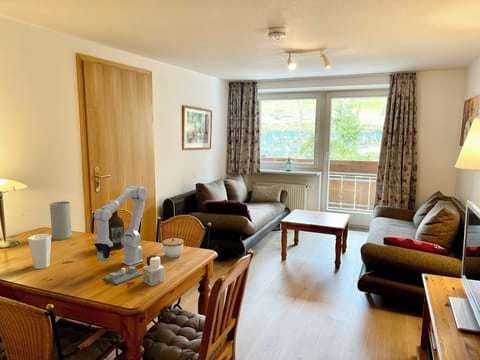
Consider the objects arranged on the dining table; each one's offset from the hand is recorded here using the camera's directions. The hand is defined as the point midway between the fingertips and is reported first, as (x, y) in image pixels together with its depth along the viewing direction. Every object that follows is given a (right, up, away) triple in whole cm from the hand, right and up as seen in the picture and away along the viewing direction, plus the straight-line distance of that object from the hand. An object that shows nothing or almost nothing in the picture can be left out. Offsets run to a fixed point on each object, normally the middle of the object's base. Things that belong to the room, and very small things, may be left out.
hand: (104, 257), depth 180 cm
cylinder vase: (-55, -1, +63) cm, 83 cm away
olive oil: (-9, -4, +42) cm, 43 cm away
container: (+29, -11, -9) cm, 32 cm away
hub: (0, -2, 0) cm, 2 cm away
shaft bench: (+11, -10, -4) cm, 15 cm away
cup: (-38, -8, +10) cm, 40 cm away
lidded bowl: (+31, -6, +28) cm, 42 cm away
